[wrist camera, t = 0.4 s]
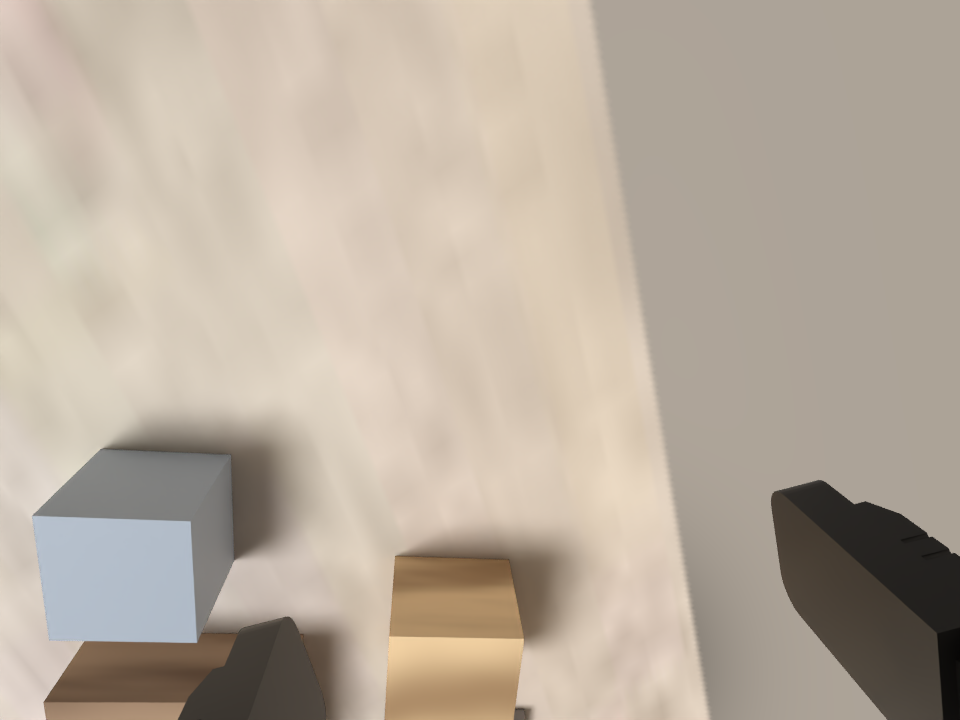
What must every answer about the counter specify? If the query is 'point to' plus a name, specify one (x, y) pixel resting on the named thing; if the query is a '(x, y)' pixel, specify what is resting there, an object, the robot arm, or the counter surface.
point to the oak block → (453, 640)
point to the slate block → (136, 546)
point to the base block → (135, 678)
